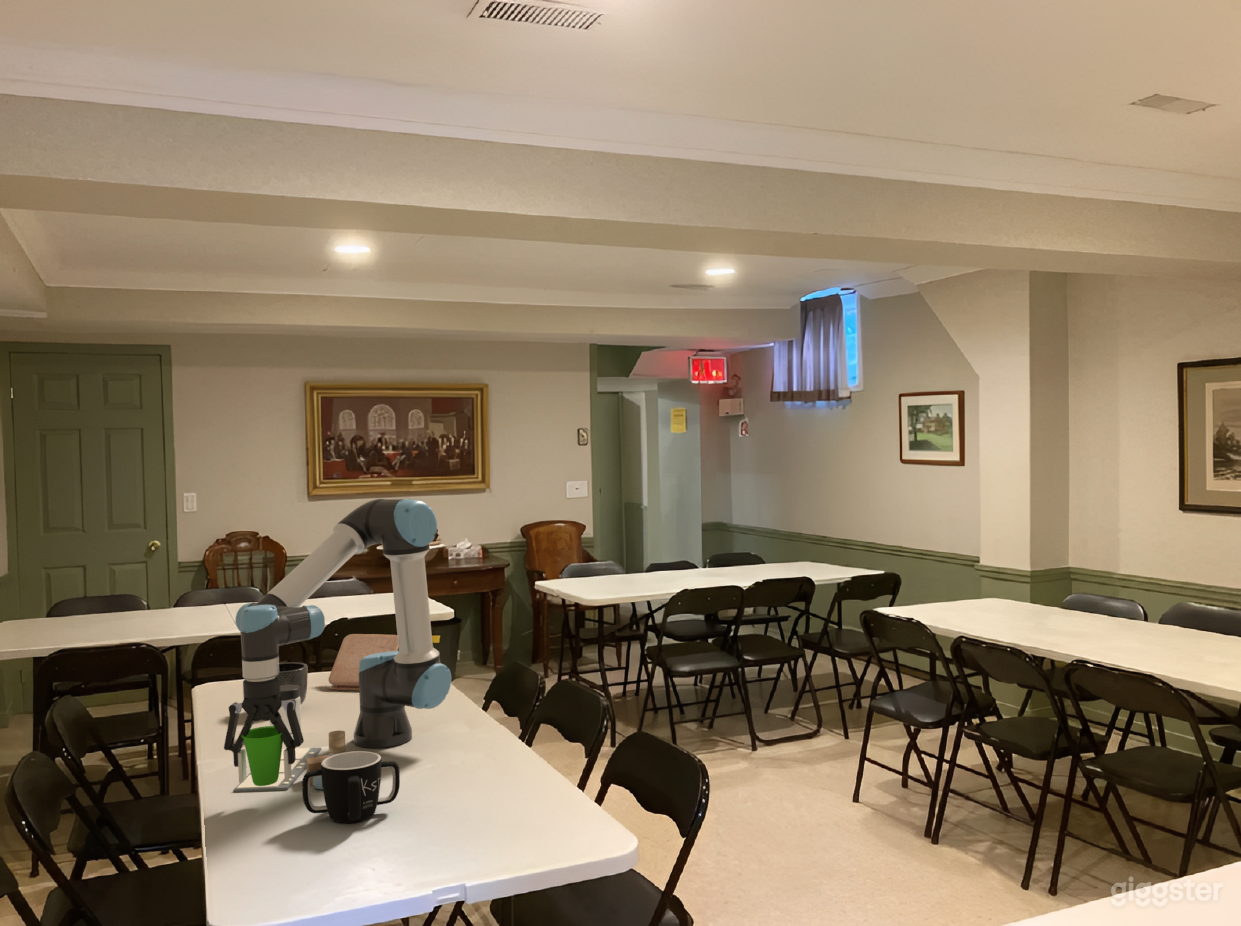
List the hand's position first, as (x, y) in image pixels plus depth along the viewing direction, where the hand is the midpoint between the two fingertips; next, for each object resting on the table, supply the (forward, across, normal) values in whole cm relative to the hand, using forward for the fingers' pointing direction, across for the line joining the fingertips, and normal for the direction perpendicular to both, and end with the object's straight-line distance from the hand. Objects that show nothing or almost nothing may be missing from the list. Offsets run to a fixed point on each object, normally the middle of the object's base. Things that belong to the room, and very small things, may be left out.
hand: (265, 779), depth 210 cm
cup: (+1, 0, 0) cm, 1 cm away
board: (+6, +4, -24) cm, 25 cm away
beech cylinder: (+6, -8, -32) cm, 34 cm away
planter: (+7, +19, -80) cm, 83 cm away
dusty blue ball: (+6, -10, -8) cm, 14 cm away
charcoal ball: (+6, -9, -22) cm, 25 cm away
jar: (+6, +12, -58) cm, 59 cm away
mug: (+6, -21, +10) cm, 23 cm away
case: (+8, 0, -111) cm, 112 cm away
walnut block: (+6, -8, -14) cm, 17 cm away
